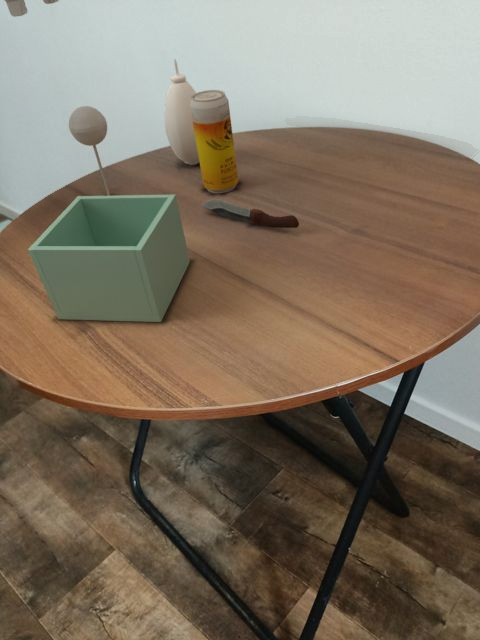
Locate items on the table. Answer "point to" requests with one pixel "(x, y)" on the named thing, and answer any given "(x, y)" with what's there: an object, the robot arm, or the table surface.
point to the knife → (249, 214)
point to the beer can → (214, 140)
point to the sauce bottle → (180, 119)
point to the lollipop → (89, 130)
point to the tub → (113, 258)
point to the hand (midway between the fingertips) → (36, 8)
